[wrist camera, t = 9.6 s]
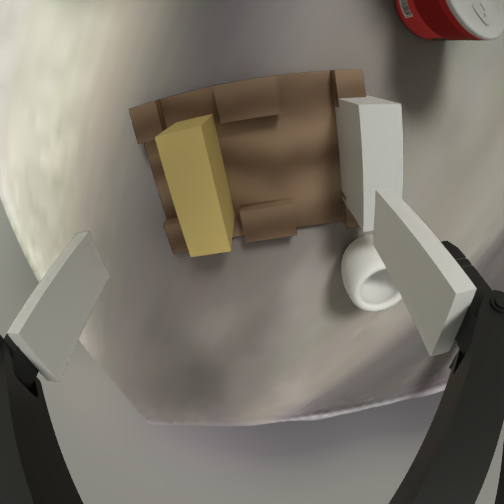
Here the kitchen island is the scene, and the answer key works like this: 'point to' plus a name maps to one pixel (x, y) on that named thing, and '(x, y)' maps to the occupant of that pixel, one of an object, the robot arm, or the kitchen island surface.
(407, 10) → the canned food
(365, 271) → the mug
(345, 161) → the grey bar
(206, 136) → the ochre bar
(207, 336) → the kitchen island surface
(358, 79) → the comb rack
